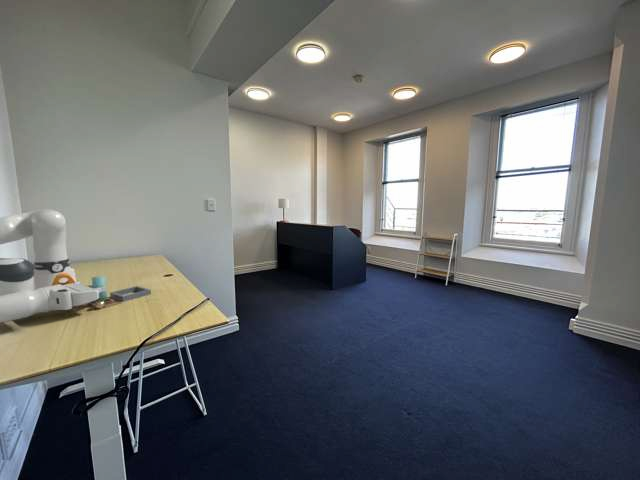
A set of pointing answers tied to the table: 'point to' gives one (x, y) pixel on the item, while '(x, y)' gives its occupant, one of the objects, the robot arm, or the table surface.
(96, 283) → the dowel
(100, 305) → the bench dog
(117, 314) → the table surface
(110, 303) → the jig plate
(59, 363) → the table surface
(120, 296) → the tray
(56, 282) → the bracket
